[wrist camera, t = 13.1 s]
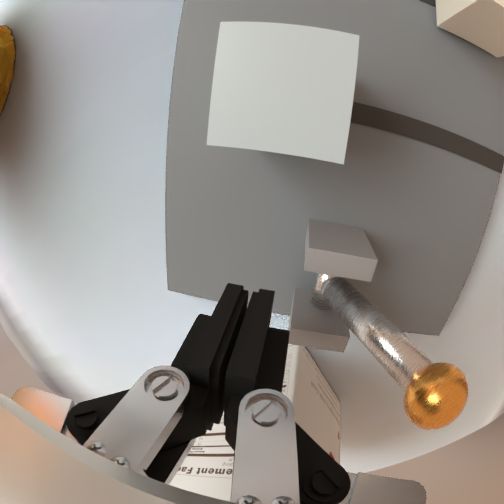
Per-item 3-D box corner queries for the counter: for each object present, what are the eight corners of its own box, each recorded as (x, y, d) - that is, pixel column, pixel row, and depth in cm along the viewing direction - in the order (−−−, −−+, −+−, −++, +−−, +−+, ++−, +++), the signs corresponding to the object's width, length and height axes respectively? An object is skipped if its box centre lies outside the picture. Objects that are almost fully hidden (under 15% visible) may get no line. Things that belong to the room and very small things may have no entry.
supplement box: (343, 402, 21) (335, 562, 8) (255, 420, 25) (220, 554, 11) (301, 334, 19) (269, 561, 6) (201, 363, 22) (129, 525, 9)
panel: (206, -49, 9) (174, -88, 4) (492, 14, 7) (534, -4, 2) (177, 278, 19) (142, 323, 14) (432, 321, 17) (454, 373, 12)
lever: (304, 256, 13) (458, 413, 5) (345, 253, 14) (489, 380, 6) (295, 299, 14) (417, 452, 6) (334, 292, 15) (454, 421, 7)
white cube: (252, 56, 11) (220, 21, 6) (340, 67, 10) (359, 35, 6) (242, 137, 12) (206, 144, 8) (329, 150, 12) (343, 164, 7)
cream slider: (432, -28, 6) (468, -66, 2) (491, 3, 6) (537, -19, 1) (436, 26, 8) (485, -5, 3) (497, 57, 7) (553, 47, 3)
